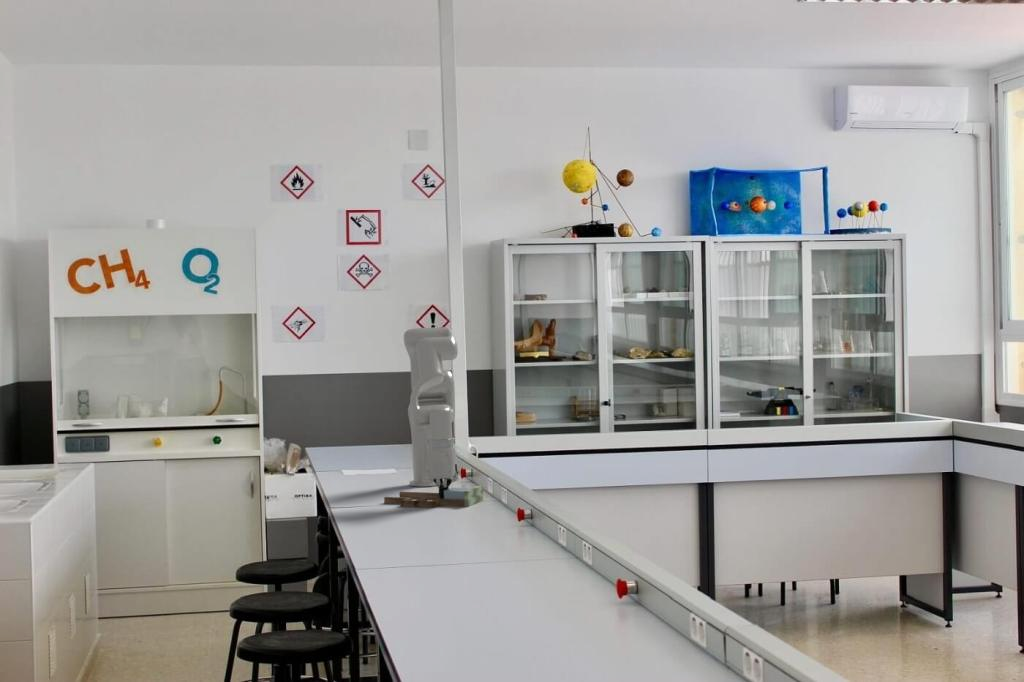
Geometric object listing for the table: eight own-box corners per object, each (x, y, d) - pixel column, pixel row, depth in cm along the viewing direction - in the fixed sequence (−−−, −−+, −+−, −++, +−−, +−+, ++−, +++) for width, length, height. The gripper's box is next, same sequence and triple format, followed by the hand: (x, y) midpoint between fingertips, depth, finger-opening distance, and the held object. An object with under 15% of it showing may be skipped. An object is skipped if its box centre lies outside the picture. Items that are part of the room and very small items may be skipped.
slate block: (453, 502, 371) (452, 487, 371) (474, 503, 368) (473, 488, 367) (444, 505, 366) (443, 490, 366) (465, 506, 362) (464, 491, 362)
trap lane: (401, 497, 384) (400, 483, 384) (483, 500, 371) (482, 485, 371) (377, 505, 370) (377, 490, 370) (462, 509, 357) (461, 493, 356)
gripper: (416, 445, 370) (419, 499, 370) (456, 445, 363) (458, 501, 364) (427, 442, 376) (430, 495, 377) (466, 442, 370) (469, 497, 371)
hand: (444, 498), depth 370 cm, fingers closed
